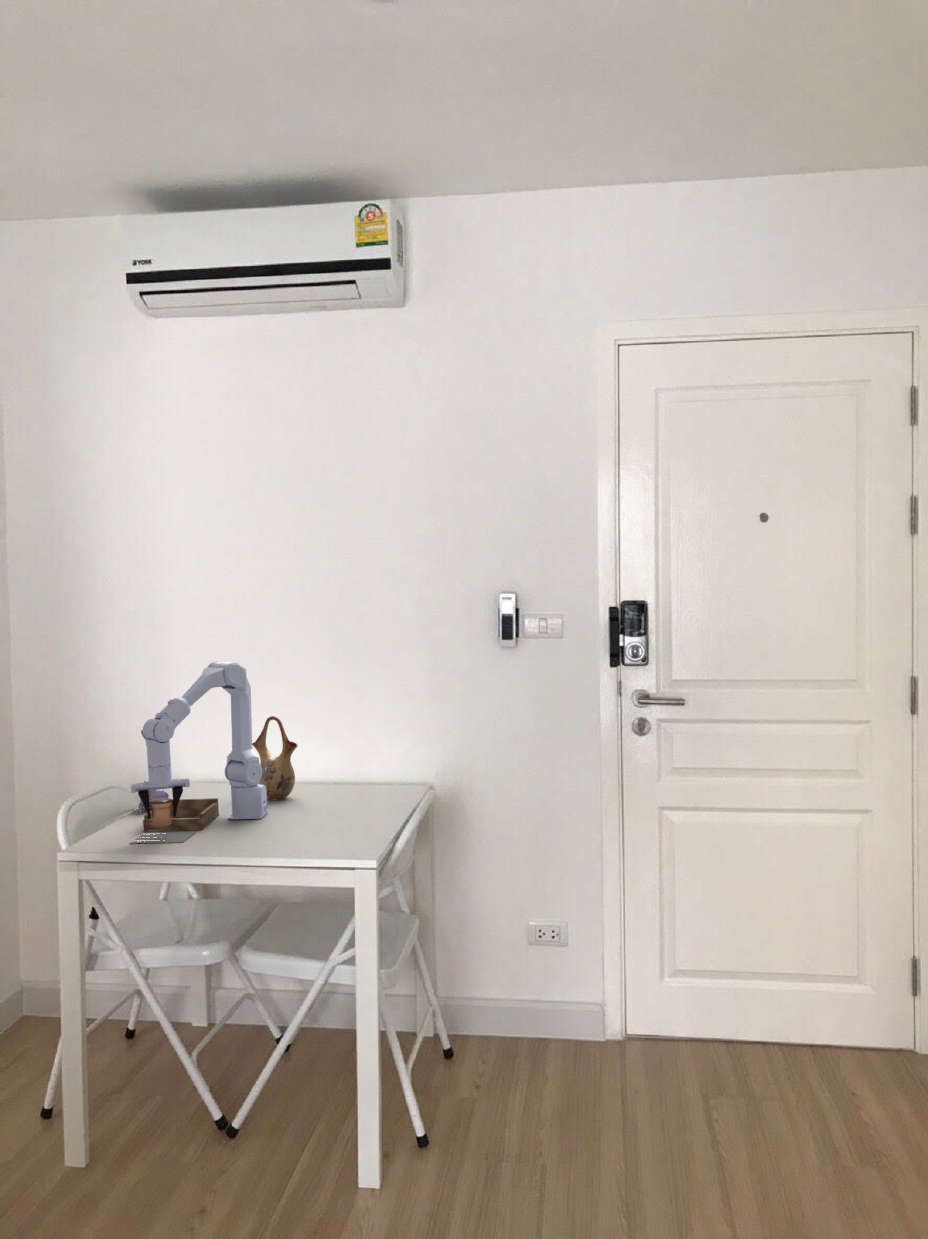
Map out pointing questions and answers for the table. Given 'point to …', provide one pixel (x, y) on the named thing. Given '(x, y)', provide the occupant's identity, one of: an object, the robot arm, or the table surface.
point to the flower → (153, 797)
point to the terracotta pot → (161, 811)
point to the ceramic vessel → (276, 764)
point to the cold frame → (189, 815)
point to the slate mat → (165, 837)
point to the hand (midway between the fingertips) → (162, 817)
